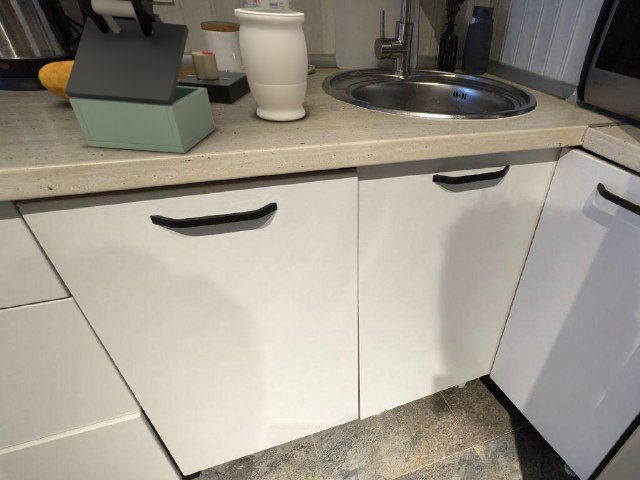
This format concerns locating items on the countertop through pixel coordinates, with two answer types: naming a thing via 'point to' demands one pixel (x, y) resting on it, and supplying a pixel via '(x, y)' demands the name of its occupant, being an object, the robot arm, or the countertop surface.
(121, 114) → the green box
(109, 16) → the box lid
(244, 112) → the countertop surface
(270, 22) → the jar
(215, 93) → the block
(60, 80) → the potato
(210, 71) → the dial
